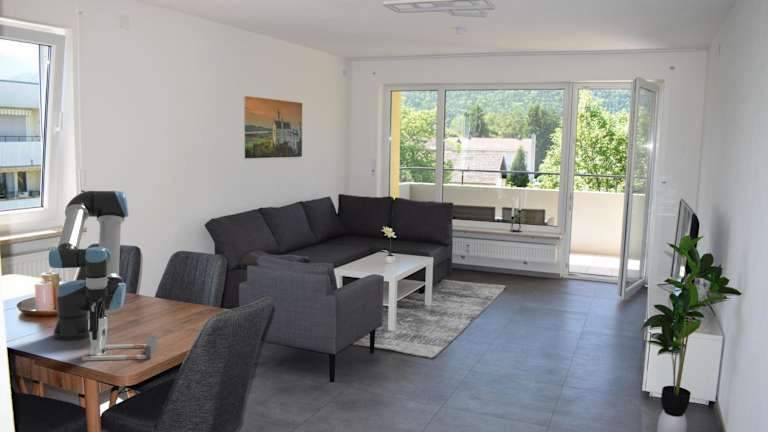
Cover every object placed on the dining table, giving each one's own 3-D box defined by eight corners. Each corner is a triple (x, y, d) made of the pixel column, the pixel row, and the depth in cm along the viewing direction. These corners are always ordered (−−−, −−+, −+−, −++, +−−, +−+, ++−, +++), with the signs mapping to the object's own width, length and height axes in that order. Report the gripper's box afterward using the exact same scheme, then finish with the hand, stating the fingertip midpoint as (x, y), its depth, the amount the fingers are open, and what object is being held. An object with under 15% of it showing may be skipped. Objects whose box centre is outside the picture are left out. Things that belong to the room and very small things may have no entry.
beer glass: (110, 351, 256) (109, 314, 254) (103, 357, 249) (102, 319, 247) (93, 350, 255) (92, 314, 254) (85, 356, 248) (84, 319, 247)
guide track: (82, 360, 244) (82, 347, 244) (92, 348, 258) (92, 336, 258) (150, 358, 249) (150, 346, 248) (156, 346, 263) (156, 334, 262)
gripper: (100, 293, 240) (101, 352, 243) (112, 281, 259) (113, 336, 262) (79, 293, 238) (80, 352, 241) (93, 281, 258) (94, 336, 260)
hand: (98, 343), depth 252 cm, fingers closed on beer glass, 7 cm apart
